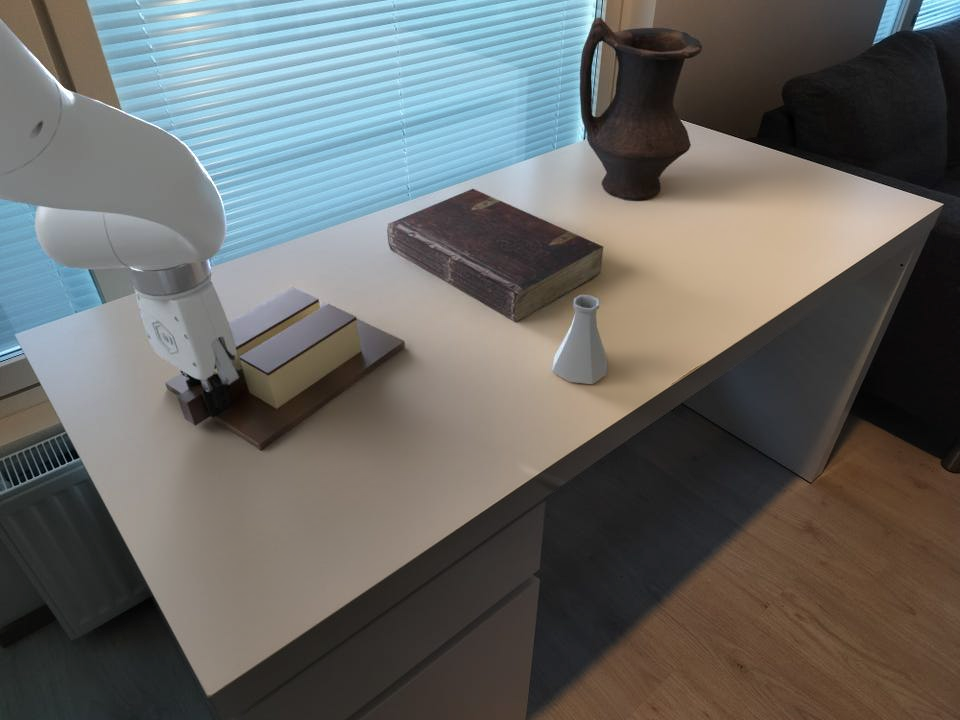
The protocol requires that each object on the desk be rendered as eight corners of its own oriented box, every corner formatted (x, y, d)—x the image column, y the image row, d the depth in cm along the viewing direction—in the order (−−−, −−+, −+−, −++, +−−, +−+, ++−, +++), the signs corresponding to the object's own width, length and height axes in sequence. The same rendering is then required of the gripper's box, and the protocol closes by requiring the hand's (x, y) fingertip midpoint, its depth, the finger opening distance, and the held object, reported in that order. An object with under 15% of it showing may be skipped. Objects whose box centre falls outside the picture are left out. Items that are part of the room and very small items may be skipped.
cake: (276, 409, 80) (267, 373, 77) (213, 371, 86) (202, 336, 82) (361, 351, 89) (356, 316, 85) (299, 320, 94) (292, 286, 91)
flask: (542, 375, 86) (546, 309, 80) (564, 344, 91) (569, 280, 85) (596, 392, 84) (605, 325, 77) (616, 360, 89) (625, 294, 82)
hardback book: (389, 250, 112) (386, 222, 109) (473, 214, 122) (472, 188, 119) (514, 323, 95) (515, 292, 92) (600, 275, 105) (603, 246, 102)
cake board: (260, 450, 76) (258, 444, 75) (166, 388, 85) (164, 382, 84) (405, 346, 91) (404, 340, 90) (312, 303, 100) (311, 297, 99)
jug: (665, 167, 139) (692, 3, 120) (694, 207, 124) (730, 27, 106) (562, 171, 137) (573, 6, 119) (579, 211, 123) (595, 31, 104)
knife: (195, 426, 77) (187, 402, 75) (184, 419, 78) (176, 395, 76) (296, 360, 87) (292, 338, 85) (286, 355, 88) (281, 333, 86)
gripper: (92, 260, 70) (147, 395, 81) (184, 311, 63) (230, 453, 74) (158, 232, 75) (201, 364, 86) (250, 276, 67) (284, 415, 79)
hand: (214, 404), depth 80 cm, fingers closed on knife, 2 cm apart
